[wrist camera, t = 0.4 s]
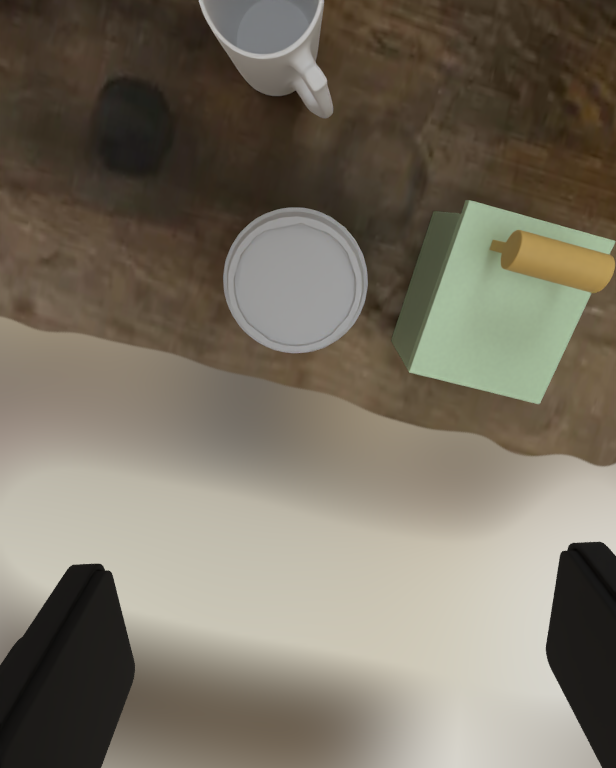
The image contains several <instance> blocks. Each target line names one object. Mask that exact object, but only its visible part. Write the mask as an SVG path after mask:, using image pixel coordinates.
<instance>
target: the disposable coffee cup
mask: <svg viewBox="0 0 616 768" xmlns="http://www.w3.org/2000/svg"><path fill="white" fill-rule="evenodd" d="M223 281H224V292H225V297H226V301H227V304H228V306H229V309H230V311H231V313H232V316H233V317H234V318H235V320H236V321H237V323H238V324H239V326H240V327H241V328H242V329H243V330H244V331H245V332H246V333H247V334H248V335H249V336H250V337H252V338H253V339H254V340H255V341H257V342H259V343H260V344H262V345H264V346H266V347H269V348H271V349H274V350H277V351H281V352H287V353H305V352H311V351H315V350H318V349H321V348H324V347H326V346H328V345H330V344H332V343H333V342H335V341H337V340H338V339H339V338H341V337H342V336H343V335H344V334H345V333H346V332H347V331H348V330H349V329H350V328H351V327H352V326H353V324H354V323H355V321H356V320H357V318H358V316H359V315H360V312H361V310H362V307H363V305H364V302H365V298H366V292H367V286H368V280H367V268H366V264H365V260H364V256H363V254H362V252H361V250H360V248H359V246H358V244H357V242H356V240H355V239H354V238H353V237H352V235H351V234H350V233H349V232H348V231H347V229H346V228H345V227H344V226H342V225H341V224H340V223H338V222H337V221H336V220H334V219H333V218H332V217H330V216H327V215H325V214H323V213H321V212H319V211H315V210H312V209H307V208H291V207H290V208H284V209H278V210H275V211H272V212H269V213H266V214H264V215H262V216H260V217H258V218H256V219H255V220H254V221H252V222H251V223H250V224H248V225H247V226H246V227H245V228H244V229H243V230H242V232H241V233H240V234H239V235H238V236H237V238H236V240H235V241H234V243H233V244H232V246H231V248H230V251H229V253H228V256H227V258H226V262H225V268H224V274H223Z"/></svg>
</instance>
